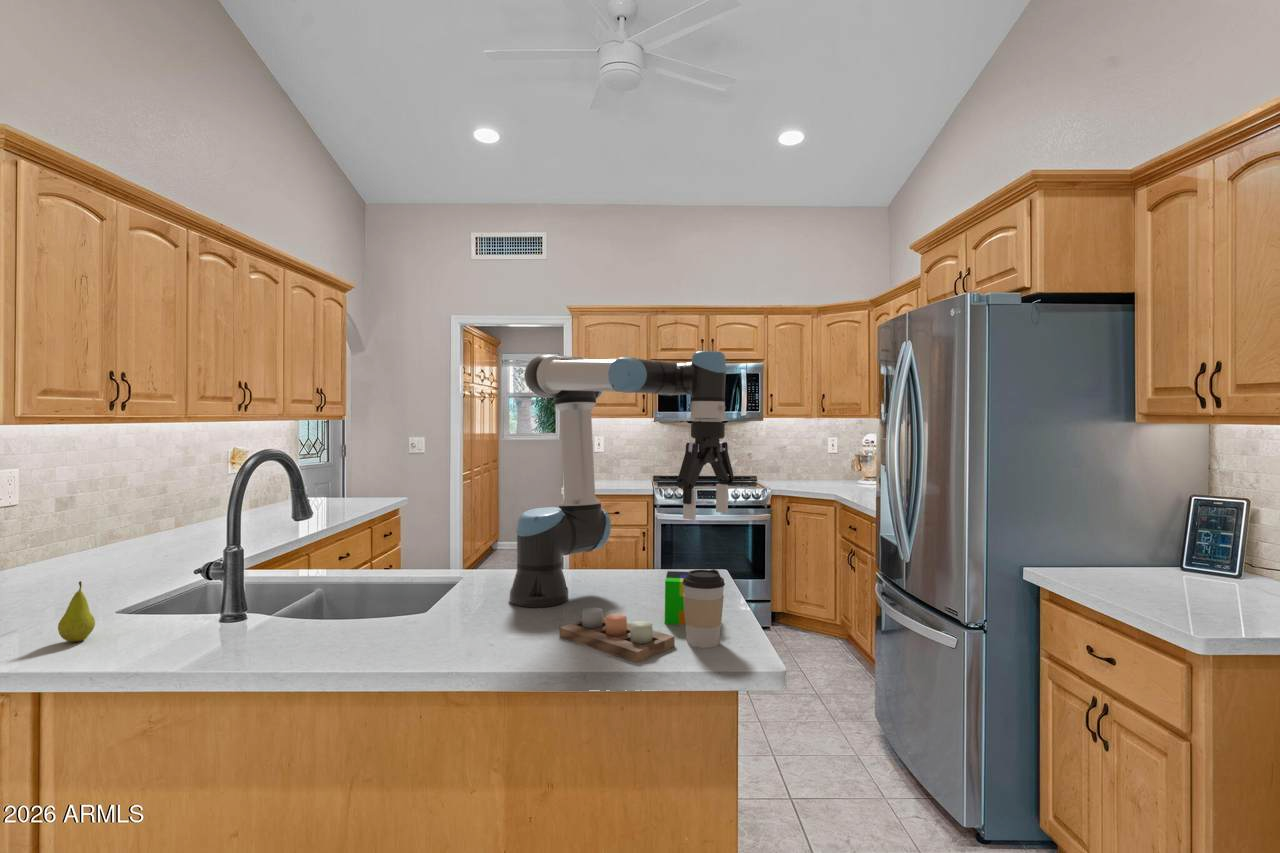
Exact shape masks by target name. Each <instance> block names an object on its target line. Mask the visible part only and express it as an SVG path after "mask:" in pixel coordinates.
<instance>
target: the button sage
mask: <svg viewBox="0 0 1280 853" xmlns="http://www.w3.org/2000/svg"><path fill="white" fill-rule="evenodd" d="M630 624H631V634H630V641H631V642H632V643H636V644H639V645H642V646H644V645H646V644H649V643H651V642H652V630H653V628H654V627H653V623H652V622H651V621H646V620H636V621H633V622H631V623H630Z"/></svg>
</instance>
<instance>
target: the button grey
mask: <svg viewBox="0 0 1280 853" xmlns="http://www.w3.org/2000/svg"><path fill="white" fill-rule="evenodd" d="M603 612H604V610H603V609H602V608H599V607H586V608H584V609H582V610H581V620H582V627H583V628H587V629H590V630H595V629H598V628H601V627H602V626H603V616H604V613H603Z"/></svg>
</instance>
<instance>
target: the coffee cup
mask: <svg viewBox="0 0 1280 853" xmlns="http://www.w3.org/2000/svg"><path fill="white" fill-rule="evenodd" d="M687 572H688V574H687V575H686V576H684V578H683V582H682V584H683V588H684V594H683V600H684V614H685V623H686V625H685V633H686V634H685V635H686V643H687V644H688V645H690V646H691V647H692V646H693V647H695V648H702V649H703V648H704V649H705V648H706V649H707V648H714V647H717V646H718V645H719V644H720V635H721V634H720V632H721V625H722V618H723V610H724V609H723V608H724V588H725V587H724V586H726V583H725V578H723V577H722V576H721V575H720V571H719V570H717V569H714V568H713V569H693V570H690V571H687Z"/></svg>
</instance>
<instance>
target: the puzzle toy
mask: <svg viewBox="0 0 1280 853" xmlns="http://www.w3.org/2000/svg"><path fill="white" fill-rule="evenodd" d="M688 572H689V571H676V570H675V571H674V570H670V571H669V570H668V571H667V572H666V576H665V581H664V625H675V626H676V625H677V626H686V623H685V614H684V600H683V594H684V588H683V584H682V582H683V578H684V576H686V575H687V574H688Z"/></svg>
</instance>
